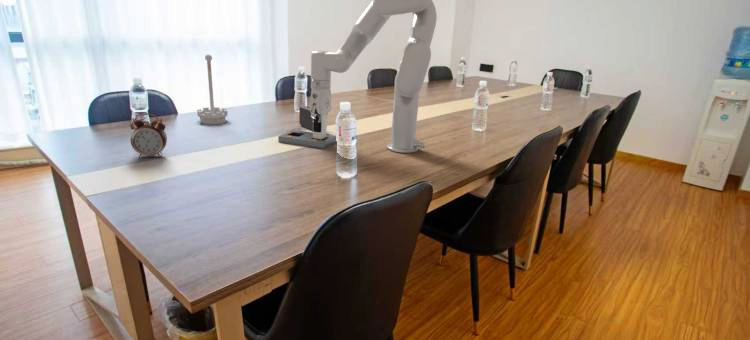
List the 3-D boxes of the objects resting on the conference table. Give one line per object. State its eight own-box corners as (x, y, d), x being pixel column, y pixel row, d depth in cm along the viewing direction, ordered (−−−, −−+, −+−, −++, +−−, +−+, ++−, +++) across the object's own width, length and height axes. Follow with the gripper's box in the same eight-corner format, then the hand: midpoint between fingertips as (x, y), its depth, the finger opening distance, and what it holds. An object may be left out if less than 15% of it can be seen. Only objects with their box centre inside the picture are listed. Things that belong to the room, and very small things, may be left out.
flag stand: (196, 118, 202) (191, 52, 192) (226, 117, 207) (222, 53, 197) (199, 125, 191) (193, 55, 181) (229, 123, 196) (225, 56, 186)
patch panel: (336, 141, 177) (336, 135, 176) (324, 149, 166) (324, 142, 165) (293, 135, 183) (293, 129, 182) (278, 142, 172) (278, 135, 171)
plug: (326, 137, 173) (326, 109, 169) (321, 139, 169) (322, 111, 166) (315, 135, 174) (315, 108, 171) (310, 137, 171) (311, 109, 167)
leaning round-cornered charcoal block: (326, 132, 190) (326, 111, 187) (317, 133, 188) (317, 112, 184) (307, 124, 202) (307, 104, 199) (298, 125, 199) (298, 105, 196)
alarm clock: (132, 159, 144) (125, 115, 139) (135, 154, 148) (129, 112, 143) (167, 158, 147) (162, 115, 142) (170, 153, 151) (165, 111, 146)
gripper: (320, 87, 156) (319, 136, 162) (338, 82, 171) (336, 127, 177) (301, 85, 158) (301, 133, 164) (321, 80, 173) (320, 125, 179)
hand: (319, 130), depth 171 cm, fingers closed on plug, 4 cm apart
